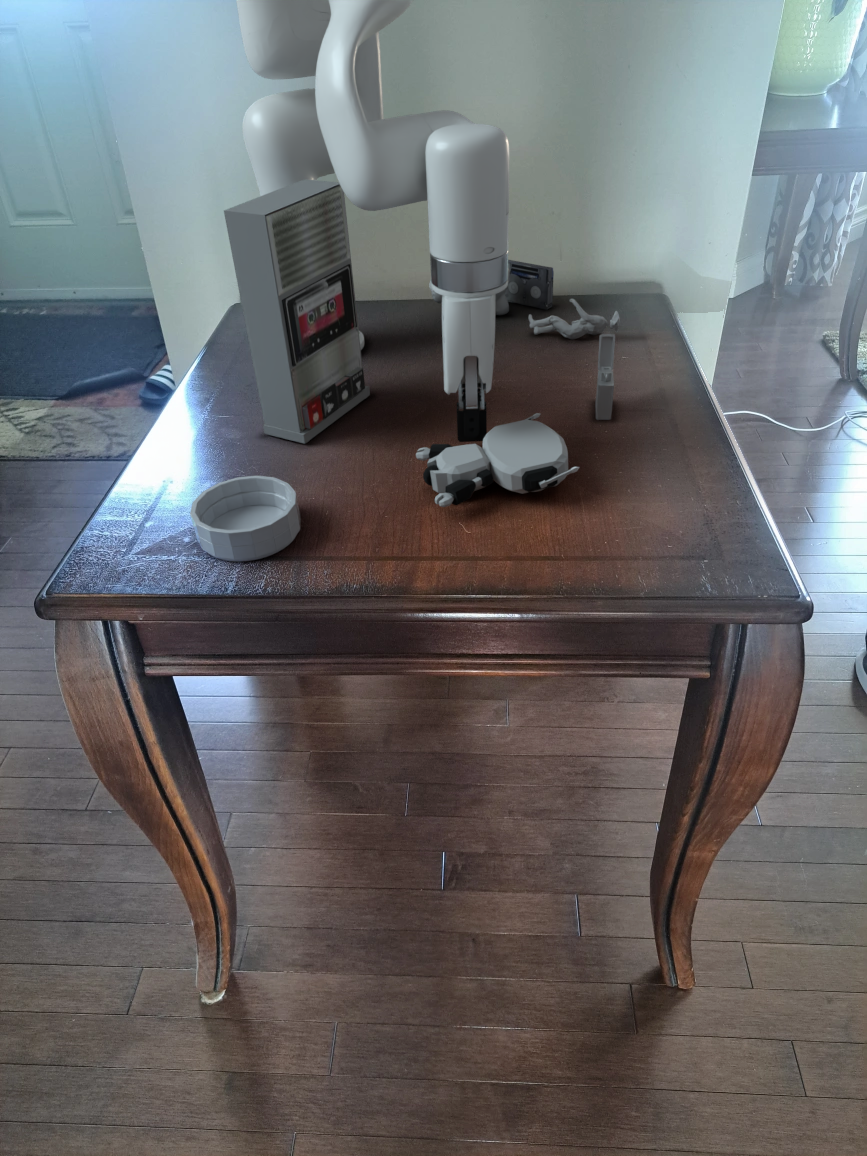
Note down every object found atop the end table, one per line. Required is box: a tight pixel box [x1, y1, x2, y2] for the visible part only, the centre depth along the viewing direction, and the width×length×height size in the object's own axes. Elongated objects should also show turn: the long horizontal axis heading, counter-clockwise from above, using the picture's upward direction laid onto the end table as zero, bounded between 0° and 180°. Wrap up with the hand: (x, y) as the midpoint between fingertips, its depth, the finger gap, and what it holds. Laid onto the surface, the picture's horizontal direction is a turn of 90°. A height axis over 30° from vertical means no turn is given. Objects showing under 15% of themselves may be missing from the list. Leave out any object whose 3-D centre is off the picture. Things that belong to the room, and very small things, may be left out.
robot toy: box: [415, 412, 580, 508], centre depth 85 cm, size 12×4×15 cm
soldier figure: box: [527, 298, 621, 340], centre depth 115 cm, size 8×5×12 cm
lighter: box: [594, 333, 616, 421], centre depth 97 cm, size 7×2×8 cm, turn 172°
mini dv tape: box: [505, 259, 555, 311], centre depth 126 cm, size 8×2×6 cm, turn 52°
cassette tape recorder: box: [223, 179, 371, 445], centre depth 93 cm, size 14×6×25 cm, turn 151°
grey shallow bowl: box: [189, 475, 302, 562], centre depth 81 cm, size 10×10×4 cm
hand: (472, 437), depth 92 cm, fingers closed
